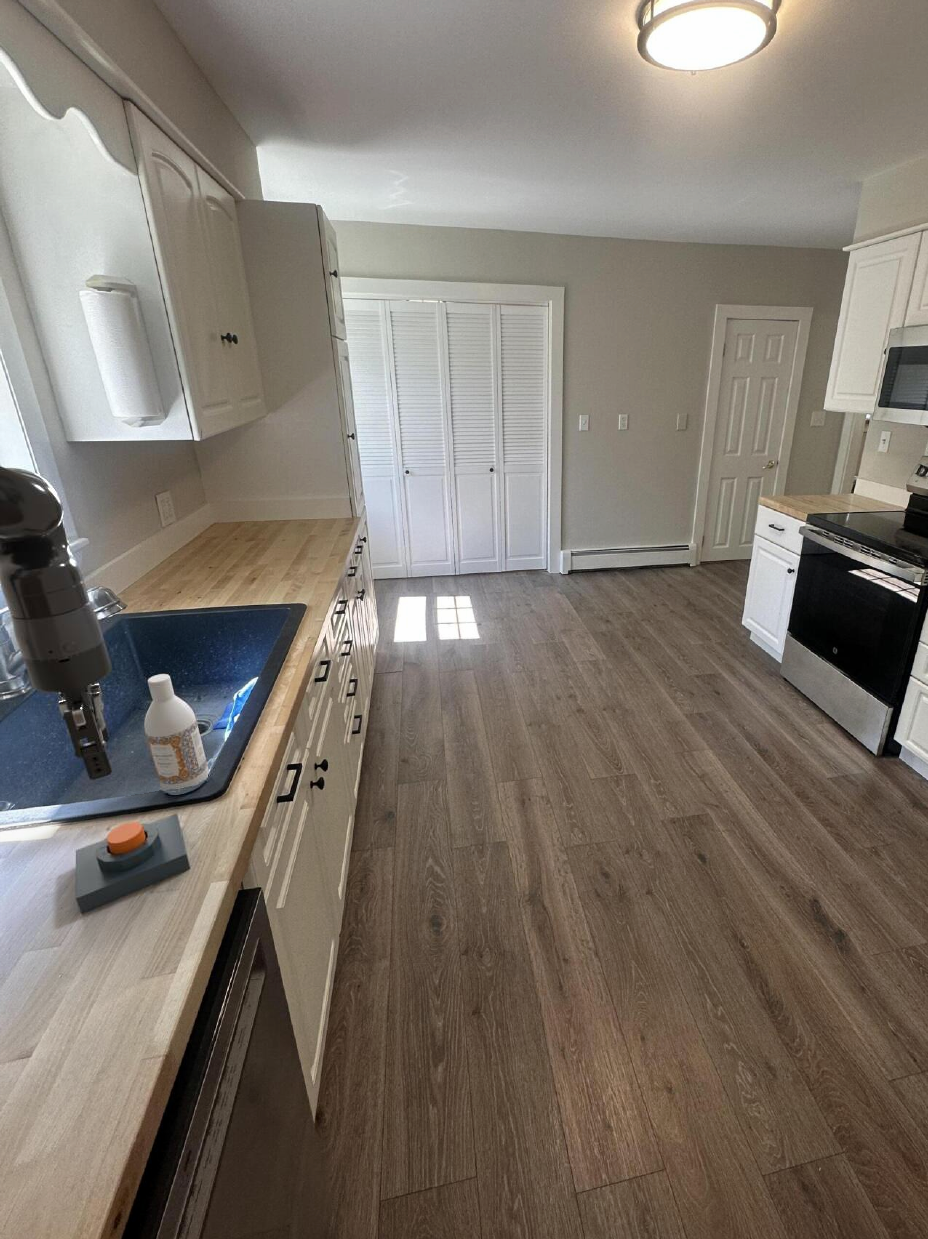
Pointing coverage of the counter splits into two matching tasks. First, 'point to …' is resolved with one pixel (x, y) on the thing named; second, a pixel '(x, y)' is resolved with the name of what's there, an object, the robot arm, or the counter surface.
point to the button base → (129, 865)
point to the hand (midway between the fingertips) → (100, 758)
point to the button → (126, 838)
